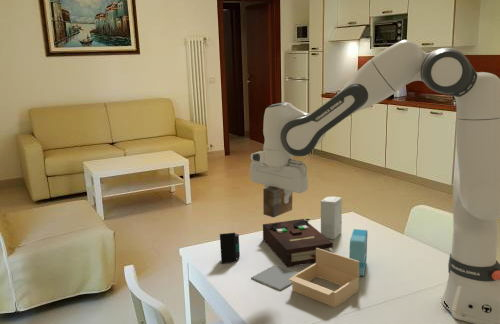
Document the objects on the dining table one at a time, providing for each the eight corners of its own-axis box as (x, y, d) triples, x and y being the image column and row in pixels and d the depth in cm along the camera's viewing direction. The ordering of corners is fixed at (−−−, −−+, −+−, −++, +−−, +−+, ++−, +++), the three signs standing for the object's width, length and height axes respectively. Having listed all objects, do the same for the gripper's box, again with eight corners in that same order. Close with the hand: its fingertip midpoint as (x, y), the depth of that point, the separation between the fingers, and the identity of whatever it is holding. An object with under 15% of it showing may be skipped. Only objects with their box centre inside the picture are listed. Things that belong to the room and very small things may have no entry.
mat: (304, 276, 148) (304, 275, 147) (280, 290, 139) (280, 289, 139) (275, 265, 156) (275, 264, 156) (251, 278, 147) (251, 277, 147)
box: (292, 210, 144) (292, 185, 142) (273, 217, 138) (273, 191, 136) (282, 207, 147) (282, 182, 145) (263, 214, 140) (263, 189, 138)
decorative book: (285, 250, 150) (257, 220, 178) (286, 272, 152) (258, 238, 180) (339, 242, 156) (303, 214, 184) (338, 263, 157) (303, 232, 185)
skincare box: (334, 240, 176) (335, 202, 173) (319, 237, 179) (320, 200, 176) (341, 232, 183) (342, 196, 180) (327, 230, 186) (328, 194, 183)
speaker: (237, 264, 157) (235, 234, 156) (221, 264, 158) (219, 234, 157) (241, 256, 165) (240, 228, 163) (226, 256, 166) (224, 228, 164)
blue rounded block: (363, 277, 146) (364, 242, 143) (348, 276, 147) (349, 241, 145) (366, 261, 157) (367, 228, 154) (352, 260, 158) (353, 227, 156)
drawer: (358, 290, 138) (359, 261, 136) (330, 311, 127) (330, 279, 125) (316, 275, 148) (316, 247, 146) (287, 293, 138) (286, 263, 136)
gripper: (312, 160, 133) (312, 205, 137) (260, 150, 147) (260, 192, 150) (299, 164, 129) (299, 211, 132) (246, 154, 143) (247, 196, 146)
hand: (278, 201), depth 141 cm, fingers closed on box, 4 cm apart
